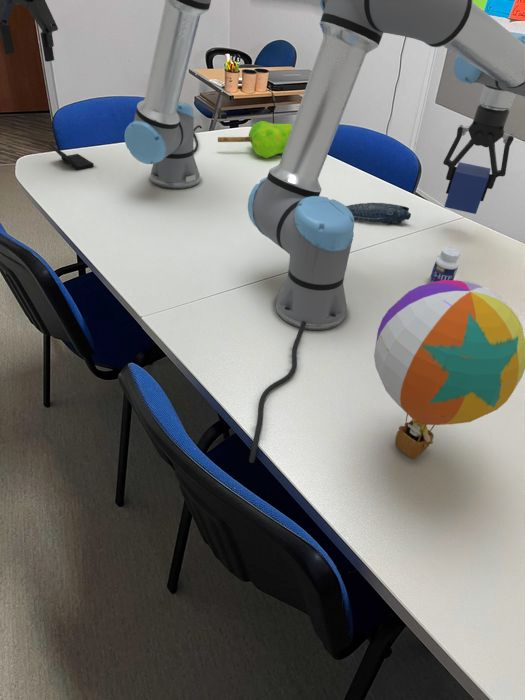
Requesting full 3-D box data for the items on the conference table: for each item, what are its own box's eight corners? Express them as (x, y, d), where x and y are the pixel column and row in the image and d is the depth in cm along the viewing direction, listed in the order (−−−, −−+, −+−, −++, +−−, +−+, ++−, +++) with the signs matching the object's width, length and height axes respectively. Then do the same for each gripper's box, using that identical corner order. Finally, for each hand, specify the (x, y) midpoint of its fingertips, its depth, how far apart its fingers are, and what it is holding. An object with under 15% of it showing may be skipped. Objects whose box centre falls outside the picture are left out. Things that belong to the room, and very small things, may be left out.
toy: (324, 440, 84) (359, 279, 65) (398, 390, 94) (447, 240, 76) (424, 525, 73) (502, 362, 54) (495, 458, 83) (581, 302, 65)
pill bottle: (427, 286, 124) (438, 253, 119) (429, 276, 128) (440, 244, 122) (450, 292, 123) (461, 259, 117) (451, 281, 127) (463, 249, 121)
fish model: (409, 228, 149) (414, 212, 146) (336, 220, 150) (339, 204, 147) (407, 219, 154) (411, 203, 151) (336, 211, 155) (339, 195, 152)
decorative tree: (215, 117, 188) (295, 117, 193) (215, 147, 195) (292, 146, 200) (221, 131, 174) (307, 131, 180) (221, 163, 181) (304, 161, 186)
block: (478, 202, 145) (490, 168, 139) (475, 214, 139) (488, 178, 133) (448, 196, 147) (458, 162, 141) (444, 207, 141) (455, 171, 135)
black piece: (98, 159, 169) (76, 137, 160) (86, 177, 167) (64, 156, 159) (77, 155, 175) (55, 133, 167) (66, 172, 174) (43, 151, 165)
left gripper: (63, -35, 128) (76, 61, 141) (-16, -45, 134) (4, 48, 148) (41, -35, 122) (57, 66, 135) (-39, -46, 129) (-17, 51, 142)
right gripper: (540, 111, 127) (505, 199, 141) (452, 96, 133) (427, 182, 147) (540, 117, 121) (504, 209, 136) (448, 102, 127) (423, 191, 141)
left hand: (29, 57), depth 142 cm, fingers open, 13 cm apart
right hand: (464, 195), depth 141 cm, fingers closed on block, 8 cm apart
